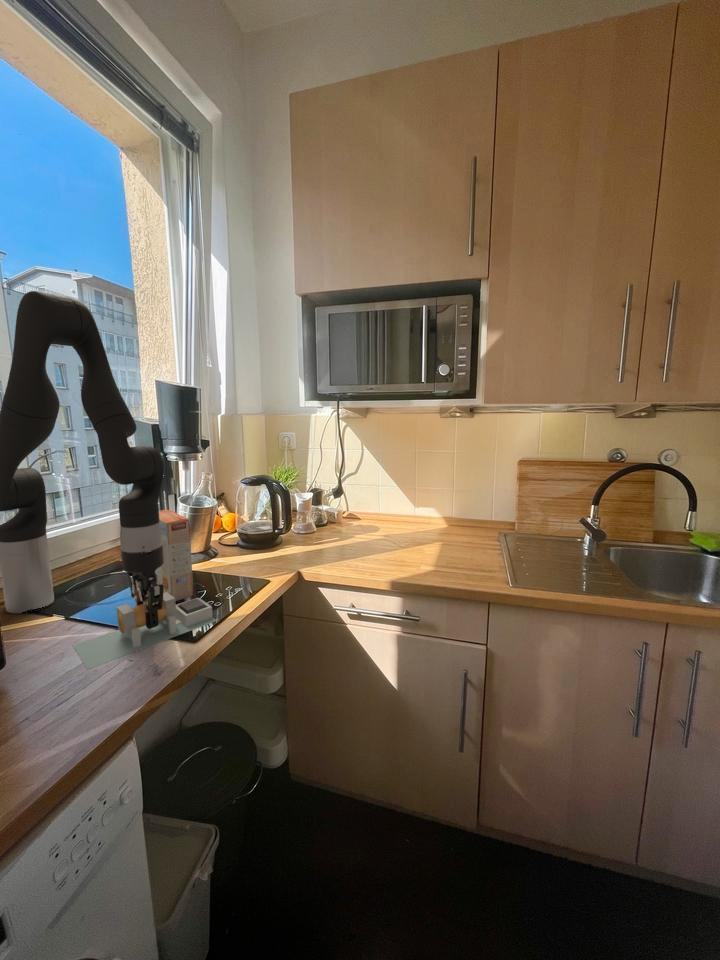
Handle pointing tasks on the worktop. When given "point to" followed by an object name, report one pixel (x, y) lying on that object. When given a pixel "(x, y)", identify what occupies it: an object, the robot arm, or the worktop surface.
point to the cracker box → (175, 555)
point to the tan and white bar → (142, 615)
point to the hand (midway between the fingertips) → (148, 622)
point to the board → (140, 637)
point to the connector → (192, 606)
